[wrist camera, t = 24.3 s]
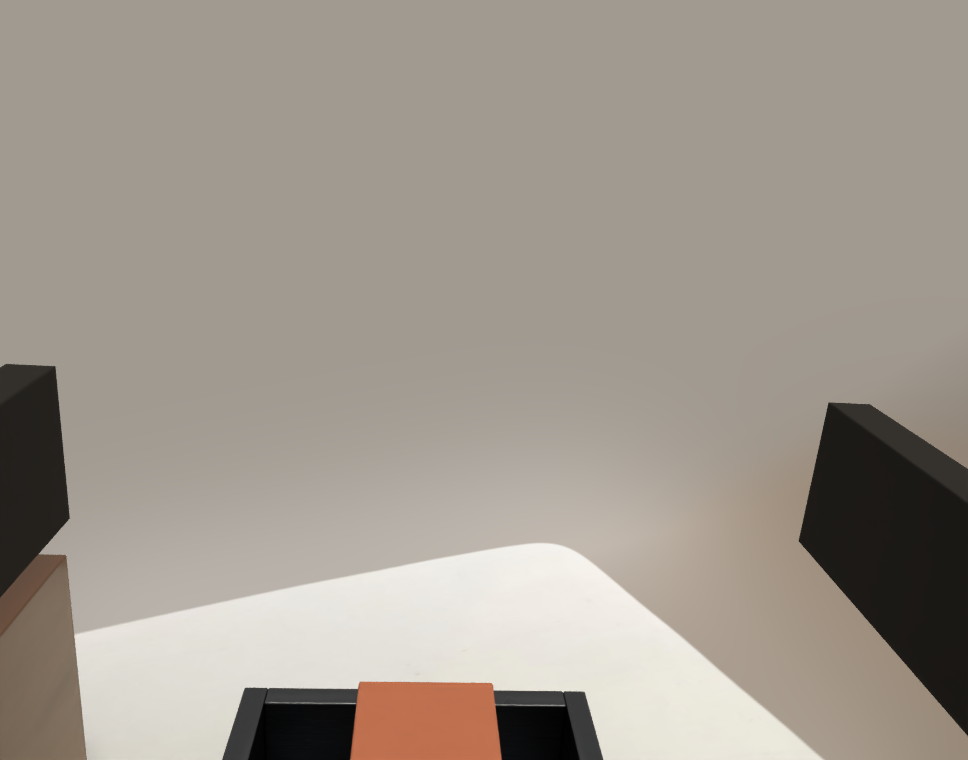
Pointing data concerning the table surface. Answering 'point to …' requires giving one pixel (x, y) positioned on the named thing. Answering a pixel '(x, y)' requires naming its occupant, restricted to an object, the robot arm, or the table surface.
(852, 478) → the robot arm
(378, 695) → the block
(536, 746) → the dark grey storage bin
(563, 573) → the table surface
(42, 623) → the plinth
